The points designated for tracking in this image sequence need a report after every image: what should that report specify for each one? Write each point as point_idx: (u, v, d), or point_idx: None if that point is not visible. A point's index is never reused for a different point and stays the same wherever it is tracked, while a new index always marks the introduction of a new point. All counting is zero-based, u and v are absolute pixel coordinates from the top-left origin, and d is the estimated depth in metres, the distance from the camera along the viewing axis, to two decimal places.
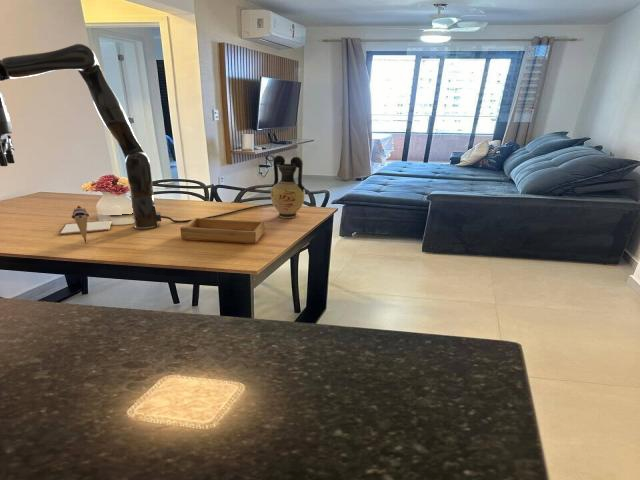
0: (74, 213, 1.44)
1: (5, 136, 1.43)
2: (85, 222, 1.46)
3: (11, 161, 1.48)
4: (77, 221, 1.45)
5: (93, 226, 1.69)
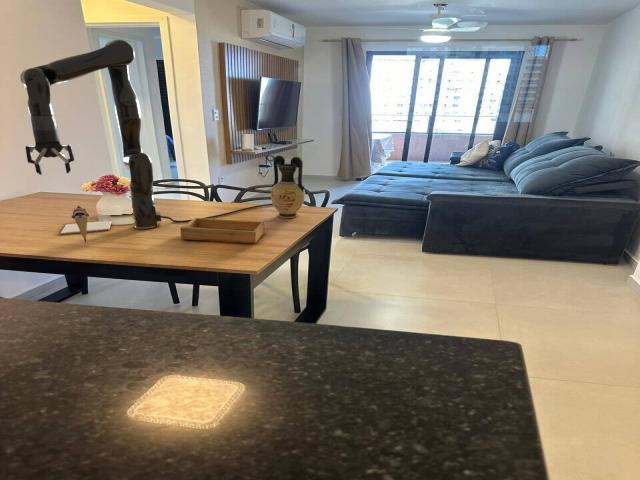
0: (74, 213, 1.44)
1: (51, 145, 1.39)
2: (85, 222, 1.46)
3: (66, 171, 1.44)
4: (77, 221, 1.45)
5: (93, 226, 1.69)
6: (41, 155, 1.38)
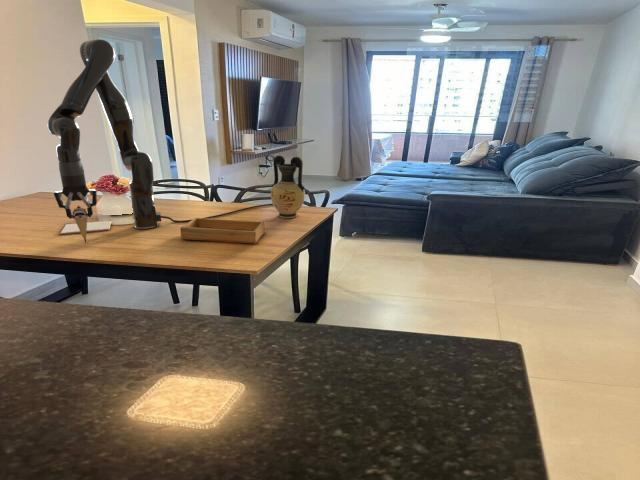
0: (74, 213, 1.44)
1: (77, 189, 1.42)
2: (85, 222, 1.46)
3: None
4: (77, 221, 1.45)
5: (93, 226, 1.69)
6: (69, 199, 1.42)
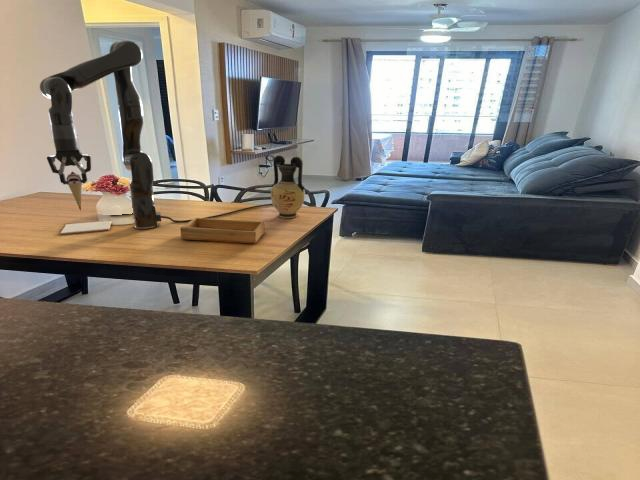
0: (68, 179, 1.40)
1: (71, 154, 1.39)
2: (79, 188, 1.43)
3: None
4: (71, 187, 1.42)
5: (93, 226, 1.69)
6: (63, 164, 1.38)
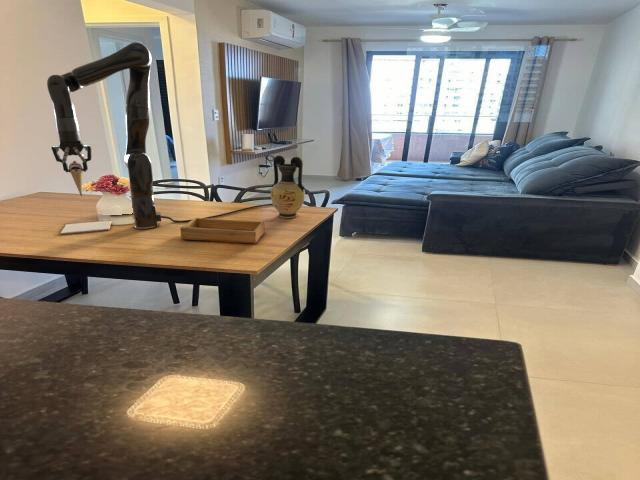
0: (70, 167, 1.55)
1: (73, 144, 1.53)
2: (80, 176, 1.58)
3: None
4: (73, 175, 1.56)
5: (93, 226, 1.69)
6: (66, 154, 1.53)
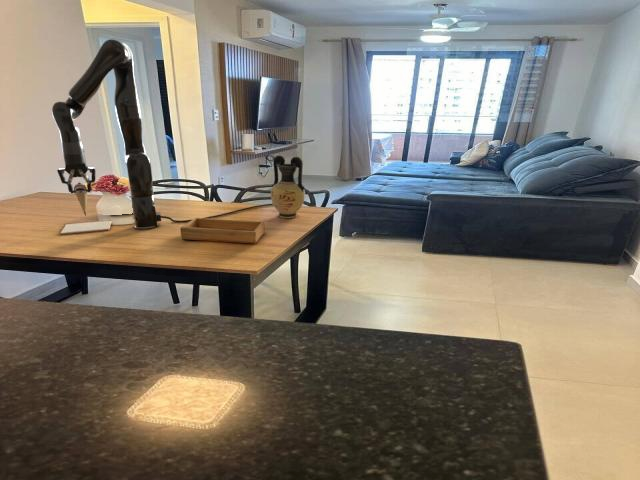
0: (75, 188, 1.61)
1: (78, 167, 1.59)
2: (85, 197, 1.64)
3: (88, 190, 1.64)
4: (78, 196, 1.62)
5: (93, 226, 1.69)
6: (71, 176, 1.59)
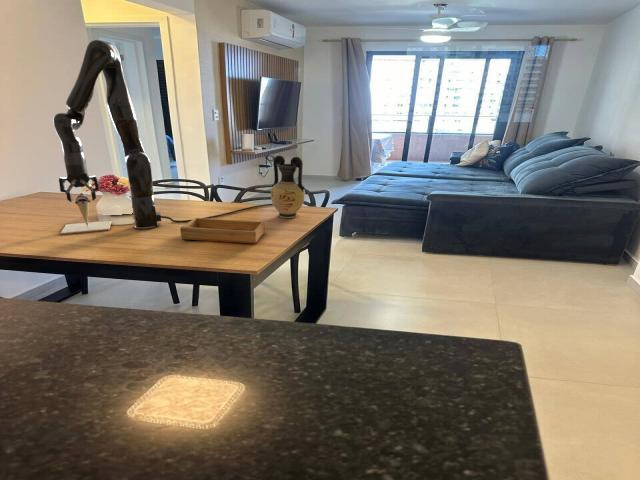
0: (77, 199, 1.63)
1: (80, 177, 1.61)
2: (87, 207, 1.65)
3: None
4: (80, 206, 1.64)
5: (93, 226, 1.69)
6: (71, 185, 1.60)
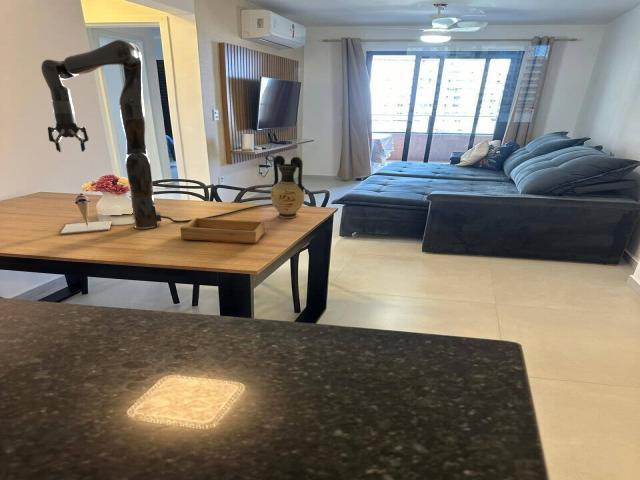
0: (77, 199, 1.62)
1: (69, 127, 1.61)
2: (87, 207, 1.65)
3: (81, 149, 1.66)
4: (80, 206, 1.64)
5: (93, 226, 1.69)
6: (60, 135, 1.61)
